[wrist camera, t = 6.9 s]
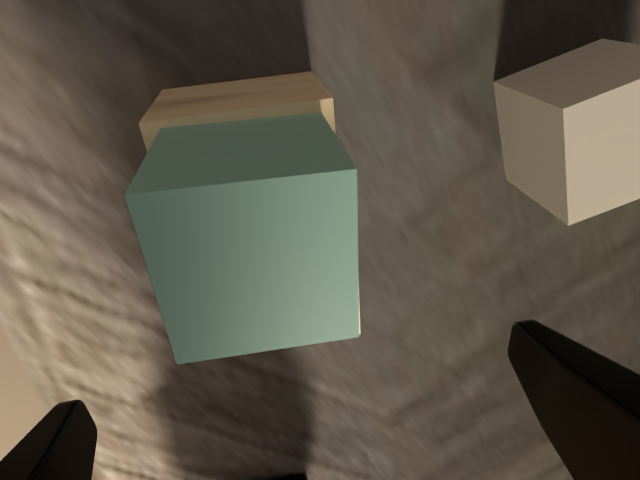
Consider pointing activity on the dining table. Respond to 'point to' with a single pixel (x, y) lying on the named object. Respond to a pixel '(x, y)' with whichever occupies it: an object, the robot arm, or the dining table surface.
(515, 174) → the beige block
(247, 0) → the dining table surface
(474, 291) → the dining table surface
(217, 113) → the maple block
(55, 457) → the robot arm
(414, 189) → the dining table surface
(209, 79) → the dining table surface
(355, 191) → the teal block
